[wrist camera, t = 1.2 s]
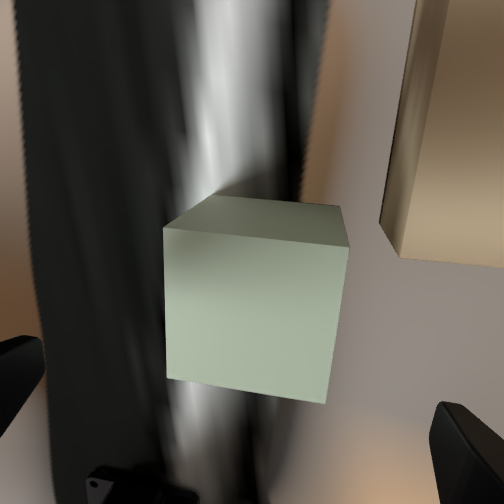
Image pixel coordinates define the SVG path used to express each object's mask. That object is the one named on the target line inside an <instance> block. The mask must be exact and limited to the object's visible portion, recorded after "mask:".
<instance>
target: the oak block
mask: <svg viewBox="0 0 504 504" xmlns="http://www.w3.org/2000/svg"><path fill="white" fill-rule="evenodd" d="M379 224H380V225H381V227H382V229H383V231H384V232H385V234H386V236H387V238H388V239H389V241H390V243H391V244H392V246H393V248H394V249H395V251H396V253H397V254H398V256H399V258H403V259H414V260H423V261H434V262H444V263H454V264H465V265H475V266H485V267H497V268H504V0H416V2H415V8H414V13H413V20H412V25H411V32H410V38H409V44H408V50H407V56H406V61H405V68H404V74H403V79H402V85H401V91H400V98H399V104H398V109H397V115H396V121H395V127H394V133H393V140H392V146H391V152H390V157H389V164H388V169H387V175H386V181H385V187H384V194H383V199H382V205H381V211H380V217H379Z"/></svg>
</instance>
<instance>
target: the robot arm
mask: <svg viewBox="0 0 504 504" xmlns="http://www.w3.org/2000/svg"><path fill="white" fill-rule="evenodd" d="M45 368H46V364H45V358H44V351H43V345H42V341H41V340H40V339H39V338H37V337H33V336H27V335H21V336H18V337H14V338H11V339H8V340H5V341H1V342H0V437H1V436H2V435H3V434H4V432H5V431H6V429H7V428H8V427H9V425H10V424H11V422H12V421H13V419H14V418H15V417H16V415H17V414H18V412H19V411H20V409H21V408H22V406H23V405H24V403H25V402H26V401H27V399H28V398H29V396H30V395H31V393H32V392H33V390H34V389H35V387H36V386H37V385H38V383H39V382H40V380H41V379H42V377H43V375H44V373H45ZM429 445H430V451H431V456H432V461H433V467H434V472H435V478H436V483H437V489H438V494H439V499H440V504H504V440H503V439H502V438H501V437H500V436H499V435H498V434H496V433H495V432H494V431H493V430H492V429H490V428H489V427H488V426H487V425H485V424H484V423H483V422H482V421H481V420H480V419H479V418H477V417H476V416H475V415H474V414H473V413H471V412H470V411H469V410H468V409H467V408H465V407H464V406H463V405H461V404H457V403H450V402H445V401H442V402H439V404H438V405H437V407H436V411H435V414H434V418H433V421H432V425H431V428H430V432H429ZM86 489H87V497H88V504H200V498H199V496H198V495H197V494H196V493H195V492H192V491H188V490H184V489H179V488H174V487H169V486H165V485H160V484H155V483H150V482H145V481H141V480H136V479H131V478H126V477H122V476H117V475H112V474H107V473H102V472H98V471H93V472H91V473H90V475H89V476H88V478H87V479H86Z"/></svg>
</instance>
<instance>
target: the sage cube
mask: <svg viewBox="0 0 504 504" xmlns="http://www.w3.org/2000/svg"><path fill="white" fill-rule="evenodd" d="M163 238H164V278H165V318H166V358H167V378H170V379H176V380H182V381H188V382H194V383H200V384H206V385H212V386H218V387H224V388H230V389H236V390H242V391H248V392H254V393H260V394H266V395H273V396H279V397H285V398H291V399H297V400H303V401H309V402H315V403H321V404H325V403H326V396H327V391H328V384H329V378H330V371H331V365H332V358H333V352H334V346H335V339H336V333H337V327H338V320H339V314H340V308H341V301H342V295H343V288H344V282H345V276H346V269H347V263H348V256H349V250H350V246H349V242H348V238H347V234H346V229H345V226H344V221H343V217H342V213H341V209H340V206H335V205H324V204H313V203H303V202H302V203H298V202H287V201H276V200H265V199H255V198H244V197H233V196H222V195H210V196H209V197H207V198H206V199H204V200H203V201H202V202H200V203H199V204H197V205H196V206H194V207H193V208H191V209H190V210H188V211H187V212H185V213H184V214H182V215H181V216H179V217H178V218H177V219H175V220H174V221H172V222H171V223H169V224H168V225H166V226H165V227H163Z"/></svg>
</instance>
